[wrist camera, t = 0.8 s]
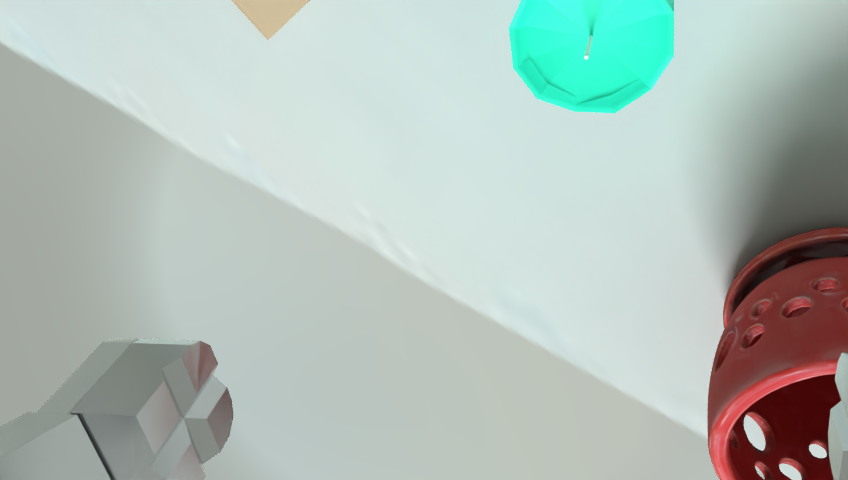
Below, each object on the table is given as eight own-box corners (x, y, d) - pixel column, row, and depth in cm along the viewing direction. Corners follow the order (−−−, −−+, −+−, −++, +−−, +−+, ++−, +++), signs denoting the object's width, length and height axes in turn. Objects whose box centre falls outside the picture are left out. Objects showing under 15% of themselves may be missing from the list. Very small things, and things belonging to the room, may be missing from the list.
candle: (519, -28, 37) (468, 66, 27) (603, -136, 33) (578, -71, 24) (611, 48, 38) (592, 164, 28) (703, -48, 34) (716, 47, 25)
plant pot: (829, 158, 38) (882, 308, 29) (1018, 296, 40) (1126, 481, 30) (654, 303, 46) (650, 458, 37) (817, 413, 48) (853, 589, 38)
